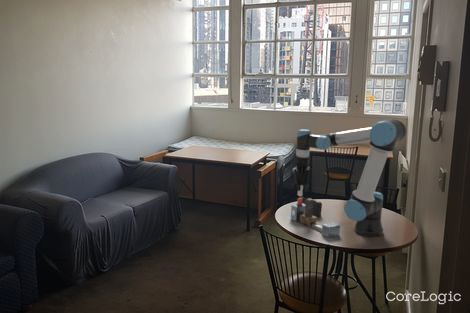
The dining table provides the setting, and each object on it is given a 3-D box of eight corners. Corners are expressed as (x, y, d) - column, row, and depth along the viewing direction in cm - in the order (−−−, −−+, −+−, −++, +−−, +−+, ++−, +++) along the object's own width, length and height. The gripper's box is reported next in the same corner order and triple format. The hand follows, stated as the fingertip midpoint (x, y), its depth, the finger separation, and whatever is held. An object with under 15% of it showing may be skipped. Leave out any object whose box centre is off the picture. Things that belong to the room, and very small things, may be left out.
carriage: (316, 225, 233) (318, 200, 230) (308, 226, 230) (310, 201, 227) (307, 220, 239) (309, 196, 237) (299, 222, 237) (301, 198, 234)
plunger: (302, 206, 240) (303, 199, 239) (299, 206, 238) (299, 199, 238) (299, 204, 242) (300, 197, 241) (296, 205, 241) (296, 198, 240)
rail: (339, 235, 219) (340, 219, 217) (327, 238, 215) (328, 222, 213) (301, 217, 246) (302, 203, 244) (290, 219, 242) (291, 205, 240)
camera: (325, 213, 255) (326, 198, 254) (319, 218, 246) (320, 202, 245) (304, 208, 263) (305, 193, 261) (297, 213, 254) (298, 197, 252)
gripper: (307, 154, 241) (304, 192, 246) (289, 155, 234) (287, 195, 239) (315, 156, 235) (312, 196, 239) (297, 158, 228) (295, 198, 233)
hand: (299, 195), depth 239 cm, fingers closed
